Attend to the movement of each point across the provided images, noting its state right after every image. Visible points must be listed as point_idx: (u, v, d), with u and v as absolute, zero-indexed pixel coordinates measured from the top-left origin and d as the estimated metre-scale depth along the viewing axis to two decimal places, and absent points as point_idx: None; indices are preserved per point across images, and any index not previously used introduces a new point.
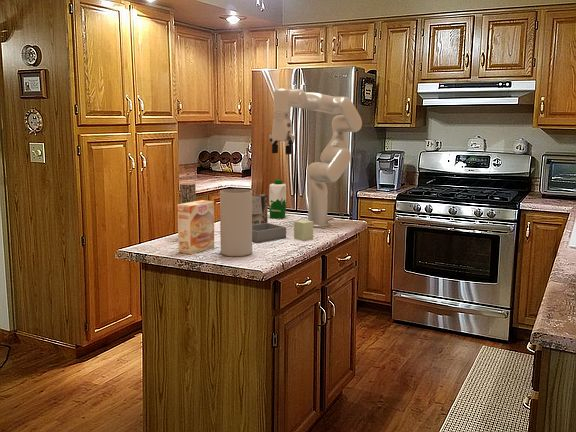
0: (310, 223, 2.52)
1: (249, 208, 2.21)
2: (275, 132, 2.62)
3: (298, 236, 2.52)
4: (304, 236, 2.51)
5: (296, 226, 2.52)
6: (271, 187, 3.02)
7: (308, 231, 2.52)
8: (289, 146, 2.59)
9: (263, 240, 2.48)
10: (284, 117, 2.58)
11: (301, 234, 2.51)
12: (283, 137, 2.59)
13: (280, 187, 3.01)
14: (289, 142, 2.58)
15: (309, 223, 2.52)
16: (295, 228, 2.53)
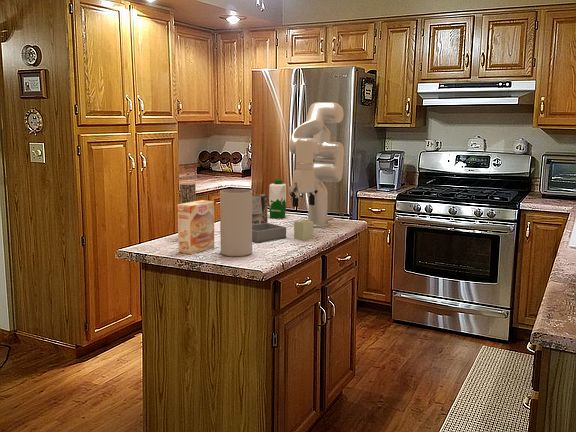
0: (310, 223, 2.52)
1: (249, 208, 2.21)
2: (304, 184, 2.47)
3: (298, 236, 2.52)
4: (304, 236, 2.51)
5: (296, 226, 2.52)
6: (271, 187, 3.02)
7: (308, 231, 2.52)
8: None
9: (263, 240, 2.48)
10: None
11: (301, 234, 2.51)
12: (313, 188, 2.51)
13: (280, 187, 3.01)
14: (315, 192, 2.54)
15: (309, 223, 2.52)
16: (295, 228, 2.53)
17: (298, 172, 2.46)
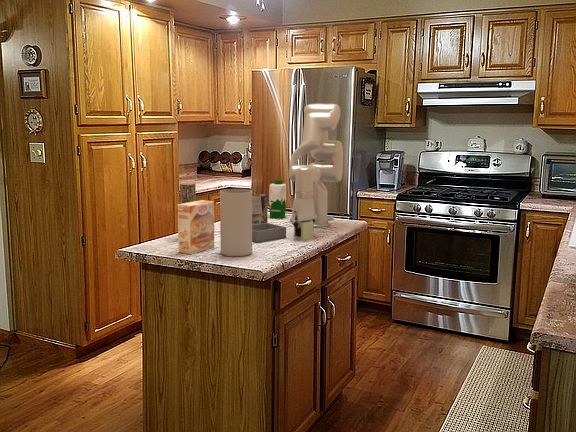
0: (310, 223, 2.52)
1: (249, 208, 2.21)
2: (304, 212, 2.50)
3: None
4: (304, 236, 2.51)
5: None
6: (271, 187, 3.02)
7: (308, 231, 2.52)
8: None
9: (263, 240, 2.48)
10: None
11: (301, 234, 2.51)
12: (312, 216, 2.54)
13: (280, 187, 3.01)
14: None
15: (309, 223, 2.52)
16: None
17: (298, 201, 2.48)
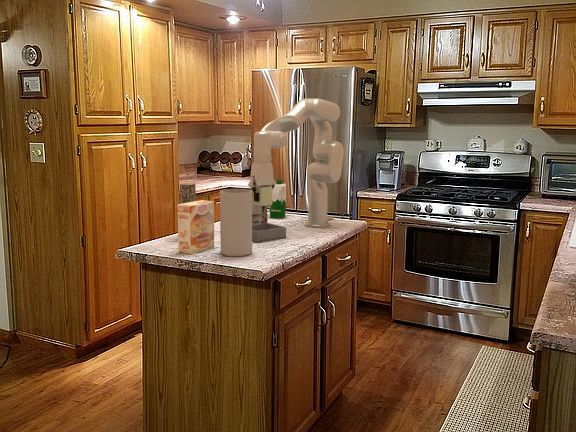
0: (269, 188, 2.50)
1: (249, 208, 2.21)
2: (262, 177, 2.48)
3: None
4: (262, 201, 2.49)
5: None
6: None
7: (266, 196, 2.50)
8: None
9: (263, 240, 2.48)
10: None
11: (260, 199, 2.49)
12: (271, 181, 2.52)
13: (280, 187, 3.01)
14: (272, 187, 2.54)
15: (268, 188, 2.50)
16: None
17: (256, 165, 2.47)
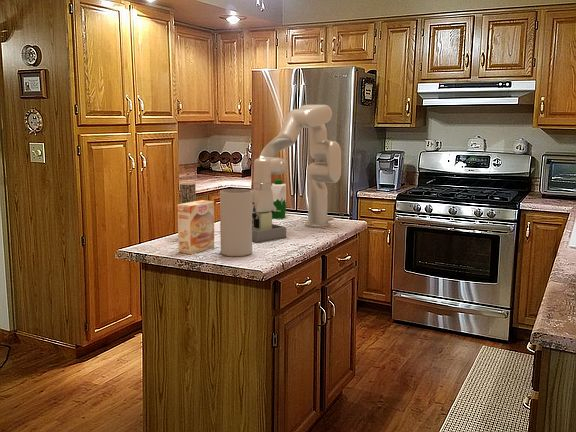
0: (269, 214, 2.52)
1: (249, 208, 2.21)
2: (262, 204, 2.50)
3: None
4: (262, 227, 2.51)
5: None
6: (271, 187, 3.02)
7: (266, 222, 2.52)
8: None
9: (263, 240, 2.48)
10: None
11: (260, 226, 2.51)
12: (271, 207, 2.54)
13: (280, 187, 3.01)
14: None
15: (267, 214, 2.52)
16: None
17: (256, 192, 2.49)
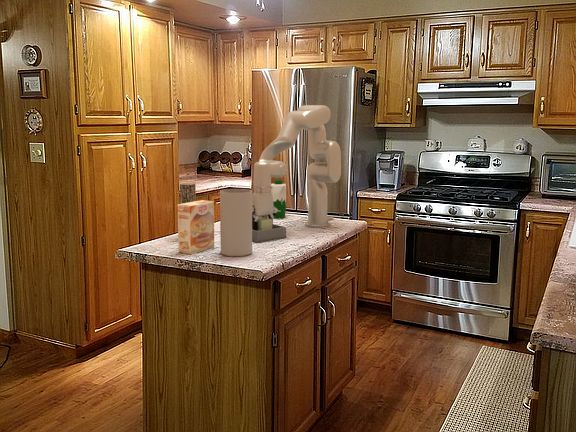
0: (269, 221, 2.53)
1: (249, 208, 2.21)
2: (262, 207, 2.50)
3: None
4: None
5: None
6: None
7: (266, 229, 2.53)
8: None
9: (263, 240, 2.48)
10: None
11: None
12: (271, 210, 2.54)
13: (280, 187, 3.01)
14: (273, 215, 2.57)
15: (268, 221, 2.53)
16: None
17: (256, 195, 2.49)
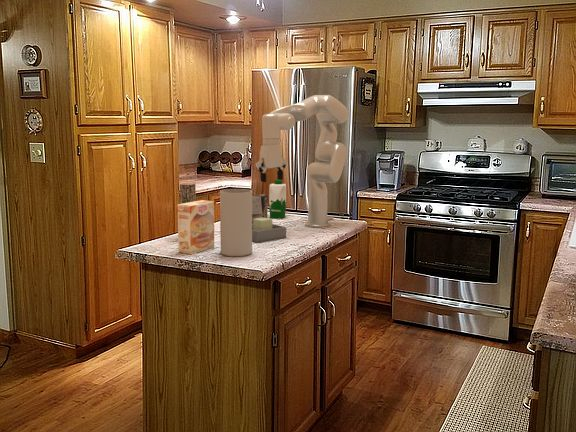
0: (269, 221, 2.53)
1: (249, 208, 2.21)
2: (271, 159, 2.51)
3: None
4: None
5: (255, 224, 2.54)
6: (271, 187, 3.02)
7: (266, 229, 2.53)
8: None
9: (263, 240, 2.48)
10: None
11: None
12: (280, 163, 2.55)
13: (280, 187, 3.01)
14: (283, 167, 2.58)
15: (268, 221, 2.53)
16: (254, 226, 2.54)
17: (265, 147, 2.49)
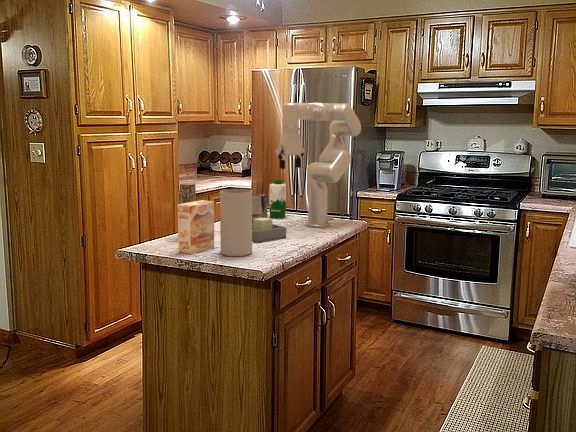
0: (269, 221, 2.53)
1: (249, 208, 2.21)
2: (291, 147, 2.59)
3: None
4: None
5: (255, 224, 2.54)
6: (271, 187, 3.02)
7: (266, 229, 2.53)
8: None
9: (263, 240, 2.48)
10: None
11: None
12: (299, 151, 2.63)
13: (280, 187, 3.01)
14: (301, 155, 2.66)
15: (268, 221, 2.53)
16: (254, 226, 2.54)
17: (284, 135, 2.58)
